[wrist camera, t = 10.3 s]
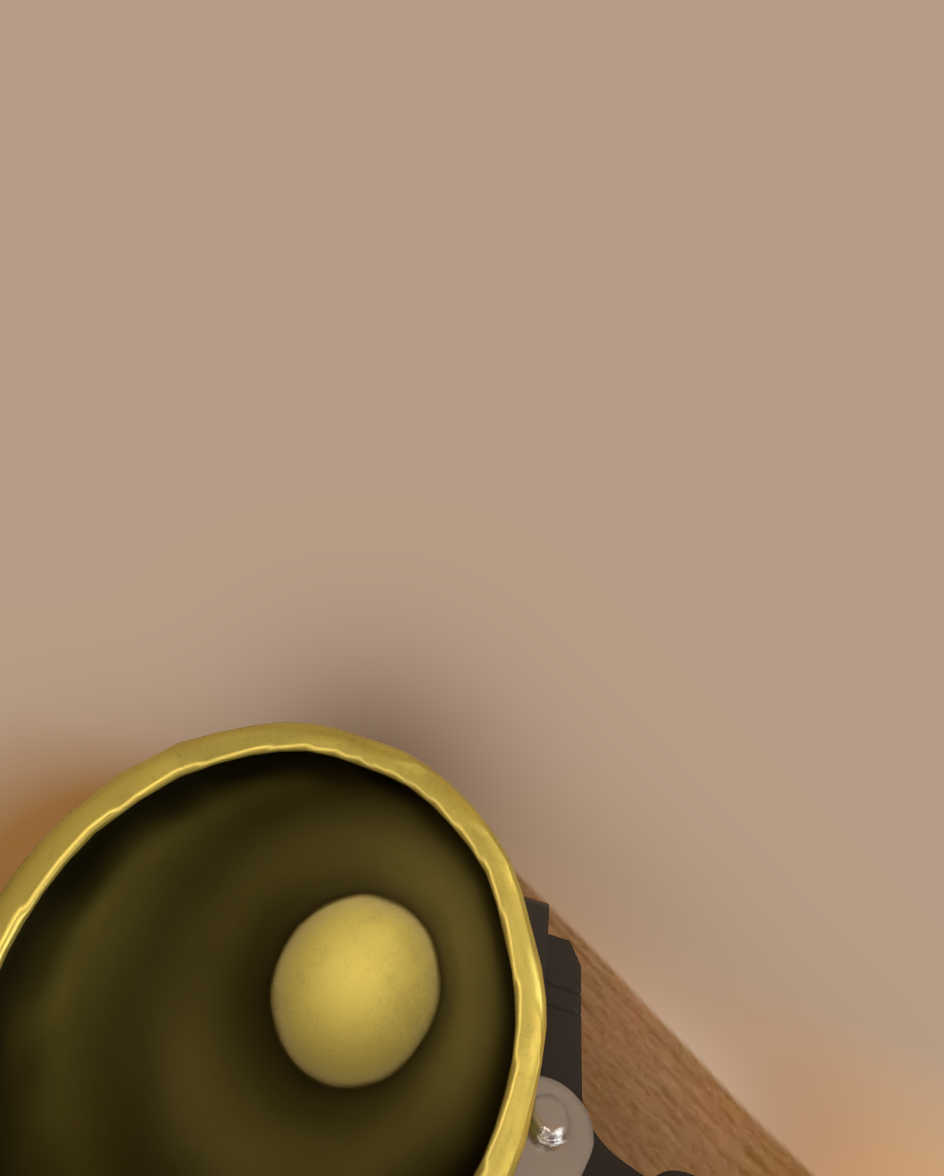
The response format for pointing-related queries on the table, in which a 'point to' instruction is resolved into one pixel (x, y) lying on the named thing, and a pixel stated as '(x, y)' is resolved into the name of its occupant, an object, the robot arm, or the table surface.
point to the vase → (269, 972)
